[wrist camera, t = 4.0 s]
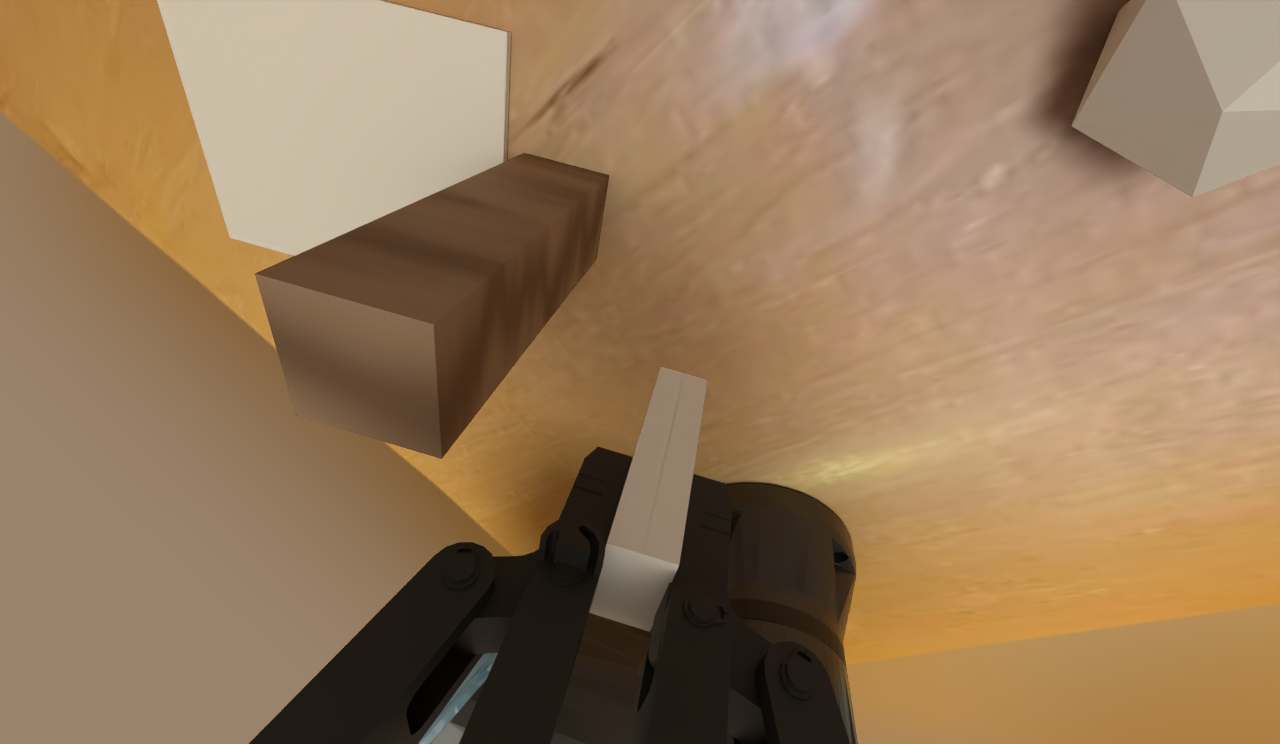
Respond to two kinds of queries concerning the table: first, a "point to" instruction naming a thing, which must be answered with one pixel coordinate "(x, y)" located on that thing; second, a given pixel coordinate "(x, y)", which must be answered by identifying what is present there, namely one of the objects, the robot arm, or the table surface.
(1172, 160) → the die
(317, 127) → the mat
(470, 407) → the walnut block
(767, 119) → the table surface
